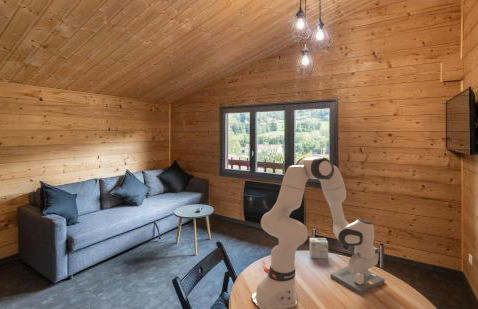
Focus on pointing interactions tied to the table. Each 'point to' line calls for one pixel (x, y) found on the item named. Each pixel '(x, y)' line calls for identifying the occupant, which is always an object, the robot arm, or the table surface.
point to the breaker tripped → (359, 278)
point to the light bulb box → (318, 248)
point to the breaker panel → (348, 281)
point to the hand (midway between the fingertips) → (362, 276)
